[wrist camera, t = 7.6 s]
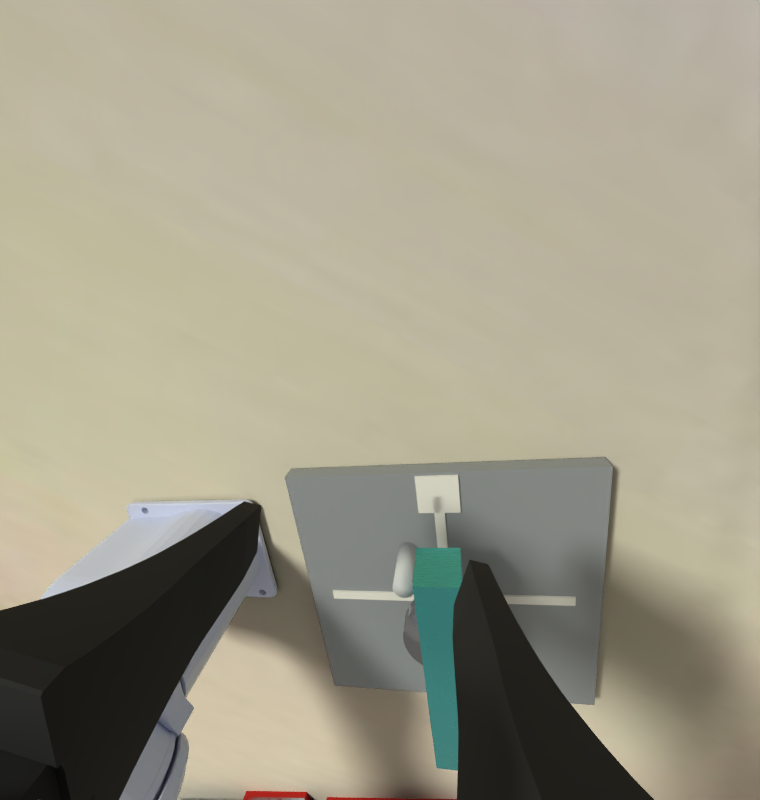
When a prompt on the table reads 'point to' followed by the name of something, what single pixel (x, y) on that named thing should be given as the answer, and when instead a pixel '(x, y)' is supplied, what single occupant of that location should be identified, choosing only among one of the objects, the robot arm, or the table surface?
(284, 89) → the table surface
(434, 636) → the teal rectangular block
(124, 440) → the table surface
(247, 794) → the maze game
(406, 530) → the lock board
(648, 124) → the table surface
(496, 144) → the table surface
